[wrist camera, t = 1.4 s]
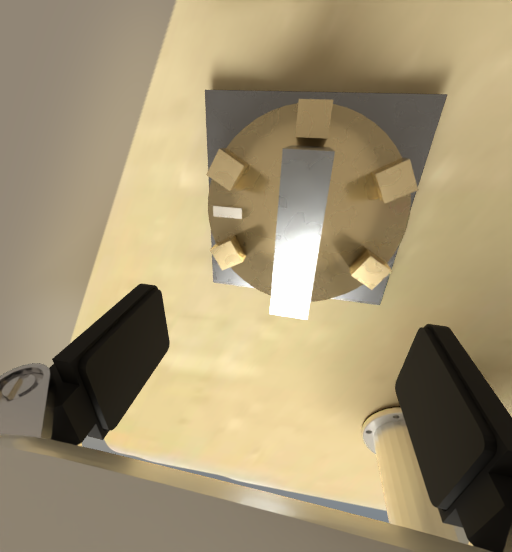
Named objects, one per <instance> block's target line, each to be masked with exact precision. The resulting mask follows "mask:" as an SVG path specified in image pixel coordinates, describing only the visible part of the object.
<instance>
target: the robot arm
mask: <svg viewBox="0 0 512 552" xmlns="http://www.w3.org/2000/svg"><path fill="white" fill-rule="evenodd" d="M168 348H169V336H168V330H167V323H166V317H165V311H164V305H163V299H162V293H161V291H160V290H158V288H157V286H155V285H148V284H139V285H138V286H137V287H135V288H134V289H133V290H132V291H131V292H130V293H129V294H127V295H126V296H125V297H124V298H123V299H122V300H120V301H119V302H118V303H117V304H116V305H115V306H113V307H112V308H111V309H110V310H109V311H108V312H106V313H105V314H104V315H103V316H102V317H101V318H99V319H98V320H97V321H96V322H95V323H94V324H93V325H91V326H90V327H89V328H88V329H87V330H86V331H84V332H83V333H82V334H81V335H80V336H79V337H77V338H76V339H75V340H74V341H73V342H72V343H70V344H69V345H68V346H67V347H66V348H65V349H64V350H62V351H61V352H60V353H59V354H58V355H56V356H55V357H54V358H53V359H52V360H53V362H54V364H53V365H52V366H51V367H50V368H48V367H47V366H46V365H43V364H40V363H37V364H35V363H32V364H28V365H22V366H20V367H17V368H14V369H12V370H10V371H8V372H6V373H4V374H3V375H1V376H0V552H512V417H511V416H510V414H509V413H508V411H507V410H506V408H505V407H504V406H503V404H502V403H501V401H500V400H499V398H498V397H497V395H496V394H495V393H494V391H493V390H492V388H491V387H490V385H489V384H488V383H487V381H486V380H485V378H484V377H483V375H482V374H481V372H480V371H479V370H478V368H477V367H476V365H475V364H474V362H473V361H472V360H471V358H470V357H469V355H468V354H467V352H466V351H465V349H464V348H463V347H462V345H461V344H460V342H459V341H458V339H457V338H456V336H455V335H454V334H453V332H452V331H451V329H450V328H449V327H446V326H439V325H432V324H427V325H426V326H425V327H424V328H420V329H419V330H418V332H417V334H416V336H415V339H414V341H413V343H412V346H411V348H410V350H409V353H408V355H407V357H406V360H405V362H404V364H403V367H402V369H401V371H400V374H399V376H398V378H397V380H396V384H395V390H396V394H397V398H398V401H399V404H400V407H396V408H389V409H385V410H382V411H379V412H377V413H375V414H373V415H372V416H370V417H369V418H368V419H367V420H366V421H365V422H364V424H363V426H362V437H363V441H364V443H365V445H366V446H367V448H369V449H370V450H371V451H372V452H373V453H375V454H376V456H377V461H378V467H379V472H380V477H381V482H382V488H383V493H384V498H385V503H386V509H387V514H388V519H389V523H386V522H382V521H378V520H374V519H371V518H367V517H363V516H359V515H355V514H351V513H347V512H343V511H339V510H336V509H331V508H328V507H324V506H320V505H316V504H312V503H308V502H304V501H300V500H297V499H293V498H289V497H284V496H280V495H277V494H272V493H269V492H265V491H261V490H257V489H253V488H249V487H245V486H241V485H237V484H233V483H229V482H225V481H221V480H217V479H213V478H209V477H205V476H201V475H197V474H193V473H189V472H185V471H181V470H177V469H173V468H169V467H164V466H160V465H157V464H152V463H149V462H144V461H140V460H136V459H132V458H128V457H124V456H120V455H116V454H111V453H108V452H103V451H99V450H95V449H90V448H85V447H82V442H83V440H84V438H86V436H87V435H88V436H89V437H93V438H97V439H101V440H103V439H104V437H105V436H106V435H107V433H108V432H109V430H113V429H114V428H115V427H116V426H117V425H118V423H119V422H120V420H121V419H122V417H123V416H124V414H125V413H126V411H127V410H128V408H129V407H130V405H131V404H132V403H133V401H134V400H135V398H136V397H137V395H138V394H139V392H140V391H141V389H142V388H143V386H144V385H145V383H146V382H147V380H148V379H149V377H150V376H151V374H152V373H153V371H154V370H155V369H156V367H157V366H158V364H159V363H160V361H161V360H162V358H163V357H164V355H165V354H166V352H167V351H168Z"/></svg>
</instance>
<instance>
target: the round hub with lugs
mask: <svg viewBox="0 0 512 552" xmlns="http://www.w3.org/2000/svg"><path fill="white" fill-rule="evenodd" d="M206 175H207V176H209V177H210V178H212V180H211V184H210V190H209V197H208V214H209V222H210V227H211V231H212V235H213V237H214V240H215V243H216V244H215V245H214V246H213V247H212V248H211V249H210V251H211V253H212V254H213V256H214V258H215V259H216V261H217V263H218V264H219V266H220V268H221V269H222V270H225V269H227V268H229V267H231V268H232V270H233V271H234V272H235V273H236V274H237V275H238V276H239V277H241V278H242V279H243V280H244V281H246V282H247V283H248V284H250V285H251V286H253V287H254V288H256V289H258V290H260V291H262V292H264V293H266V294H268V295H271V303H270V314H273V315H279V316H286V317H293V318H299V319H306V320H307V318H308V312H309V306H310V301H320V300H327V299H331V298H335V297H338V296H341V295H343V294H346V293H348V292H350V291H352V290H354V289H356V288H358V287H360V286H361V285H363V284H364V285H366V286H367V287H368V288H370V289H371V290H372V289H373V288H374V287H375V286H377V285H378V284H379V283H380V282H381V281H382V280H383V279H384V278H385V277H386V276H388V275H389V274H390V273H391V272H392V271H391V269H390V267H389V265H388V264H387V263H388V261H389V260H390V259H391V257H392V256H393V255H394V253H395V251H396V250H397V248H398V246H399V244H400V242H401V240H402V238H403V235H404V233H405V230H406V227H407V223H408V219H409V215H410V206H411V193H412V192H415V191H417V190H418V187H417V184H416V180H415V176H414V172H413V169H412V165H411V161H410V159H408V158H404V157H403V158H402V156H401V155H400V153H399V151H398V149H397V147H396V146H395V144H394V143H393V142H392V140H391V139H390V138H389V136H388V135H387V134H386V133H385V132H384V131H383V130H382V129H381V128H380V127H379V126H378V125H377V124H375V123H374V122H373V121H371V120H370V119H368V118H367V117H365V116H364V115H362V114H360V113H358V112H356V111H354V110H351V109H349V108H347V107H343V106H339V105H336V104H333V100H326V99H299V102H298V103H296V104H291V105H286V106H283V107H280V108H277V109H275V110H272V111H270V112H268V113H266V114H264V115H262V116H260V117H258V118H257V119H255V120H254V121H253V122H251V123H250V124H249V125H247V126H246V127H245V128H244V129H242V130H241V131H240V132H239V133H238V134H237V135H236V136H235V137H234V139H233V140H232V141H231V142H230V144H229V145H228V146H227V148H219V150H218V152H217V154H216V156H215V158H214V160H213V162H212V164H211V166H210V168H209V170H208V172H207V174H206Z"/></svg>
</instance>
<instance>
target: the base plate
mask: <svg viewBox="0 0 512 552" xmlns="http://www.w3.org/2000/svg"><path fill="white" fill-rule="evenodd" d="M446 97H447V94H396V93H344V92H292V91H240V90H205V104H206V127H207V150H208V170H209V168H210V166H211V164H212V162H213V160H214V158H215V156H216V154H217V152H218V150H219V148H227V146H228V145H229V144H230V142H231V141H232V140H233V139H234V137H235V136H236V135H237V134H238V133H239V132H240V131H241V130H242V129H244V128H245V127H246V126H247V125H249V124H250V123H251V122H253V121H254V120H255V119H257V118H258V117H260V116H262V115H264V114H266V113H268V112H270V111H272V110H275V109H277V108H280V107H283V106H286V105H291V104H296V103H298V102H299V99H326V100H333V104H336V105H339V106H343V107H347V108H349V109H351V110H354V111H356V112H358V113H360V114H362V115H364V116H365V117H367V118H368V119H370V120H371V121H373V122H374V123H375V124H377V125H378V126H379V127H380V128H381V129H382V130H383V131H384V132H385V133H386V134H387V135H388V136H389V138H390V139H391V140H392V142H393V143H394V144H395V146H396V147H397V149H398V151H399V153H400V155H401V156H402V158H403V157H404V158H408V159H410V161H411V165H412V169H413V172H414V176H415V180H416V184H417V187H418V185H419V181H420V178H421V175H422V172H423V169H424V166H425V163H426V160H427V156H428V153H429V150H430V147H431V144H432V141H433V138H434V134H435V131H436V128H437V125H438V122H439V119H440V116H441V112H442V109H443V106H444V103H445V100H446ZM211 180H212V178H210V177H209V190H210V184H211ZM415 194H416V191H415V192H412V193H411V206H410V210H411V207H412V203H413V200H414V197H415ZM211 242H212V247H213V246H214V245H215V244H216V243H215V240H214V237H213V235H212V231H211ZM398 247H399V246H398ZM397 250H398V248H397ZM397 250H396V251H395V253H394V255H393V256H392V257H391V259H390V260H389V261H388V263H387V264H388V265H389V267H390V269H392V266H393V263H394V260H395V257H396V254H397ZM212 265H213V282H214V283H222V284H229V285H236V286H243V287H251V288H254V287H253V286H251V285H250V284H248V283H247V282H246V281H244V280H243V279H242V278H241V277H239V276H238V275H237V274H236V273H235V272H234V271H233V270H232V268H231V267H229V268H227V269H225V270H222V269H221V268H220V266H219V264H218V263H217V261H216V259H215V258H214V256H213V254H212ZM389 275H390V274H389ZM389 275H388V276H386V277H385V278H384V279H383V280H382V281H381V282H380V283H379V284H378V285H377V286H375V287H374V288H373V289H372V290H371V289H370V288H368V287H367V286H366V285H364V284H363V285H361V286H360V287H358V288H356V289H354V290H352V291H350V292H348V293H346V294H343V295H341V296H338V297H335V298H331V299H338V300H345V301H353V302H360V303H367V304H375V305H380V304H381V301H382V297H383V294H384V291H385V288H386V285H387V282H388V279H389Z"/></svg>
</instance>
